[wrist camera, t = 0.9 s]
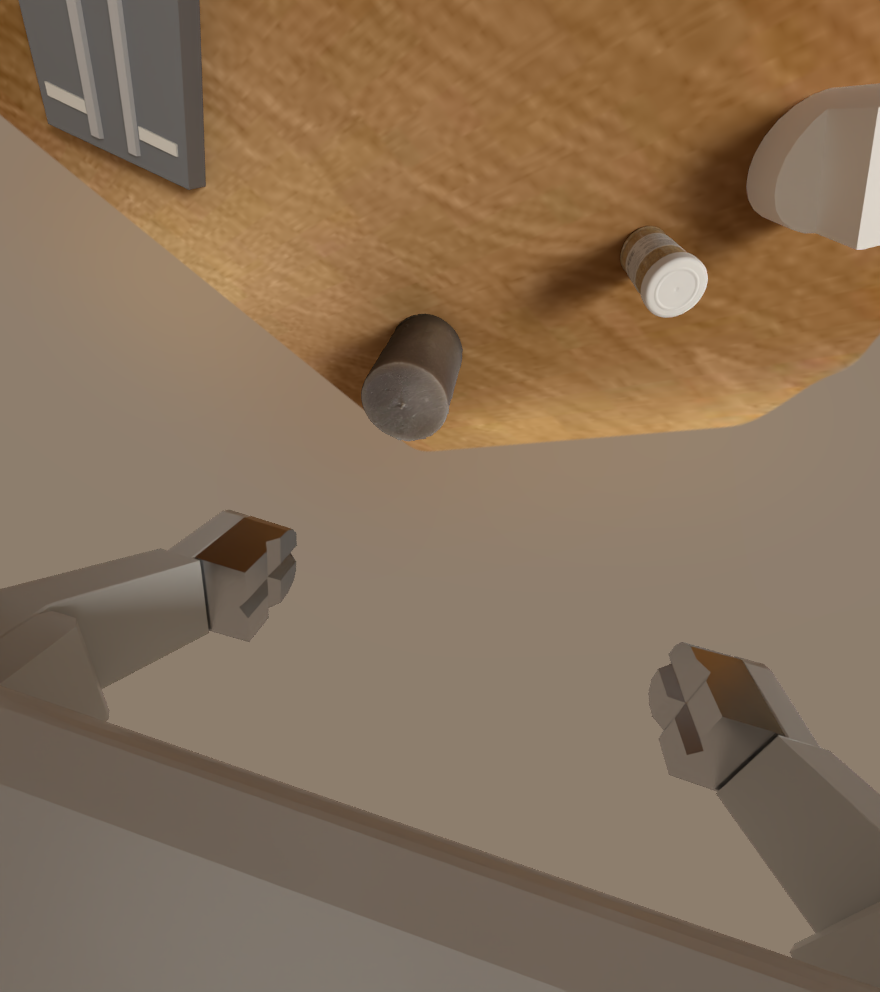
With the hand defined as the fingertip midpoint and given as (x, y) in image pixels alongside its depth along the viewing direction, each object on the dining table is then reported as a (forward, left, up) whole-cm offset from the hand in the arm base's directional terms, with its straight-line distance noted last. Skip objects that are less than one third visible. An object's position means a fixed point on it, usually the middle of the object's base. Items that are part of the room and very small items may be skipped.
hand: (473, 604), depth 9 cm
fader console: (0, -40, -46) cm, 61 cm away
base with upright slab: (-13, +21, -46) cm, 53 cm away
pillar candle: (+18, -4, -46) cm, 50 cm away
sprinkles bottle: (-2, +13, -46) cm, 48 cm away
